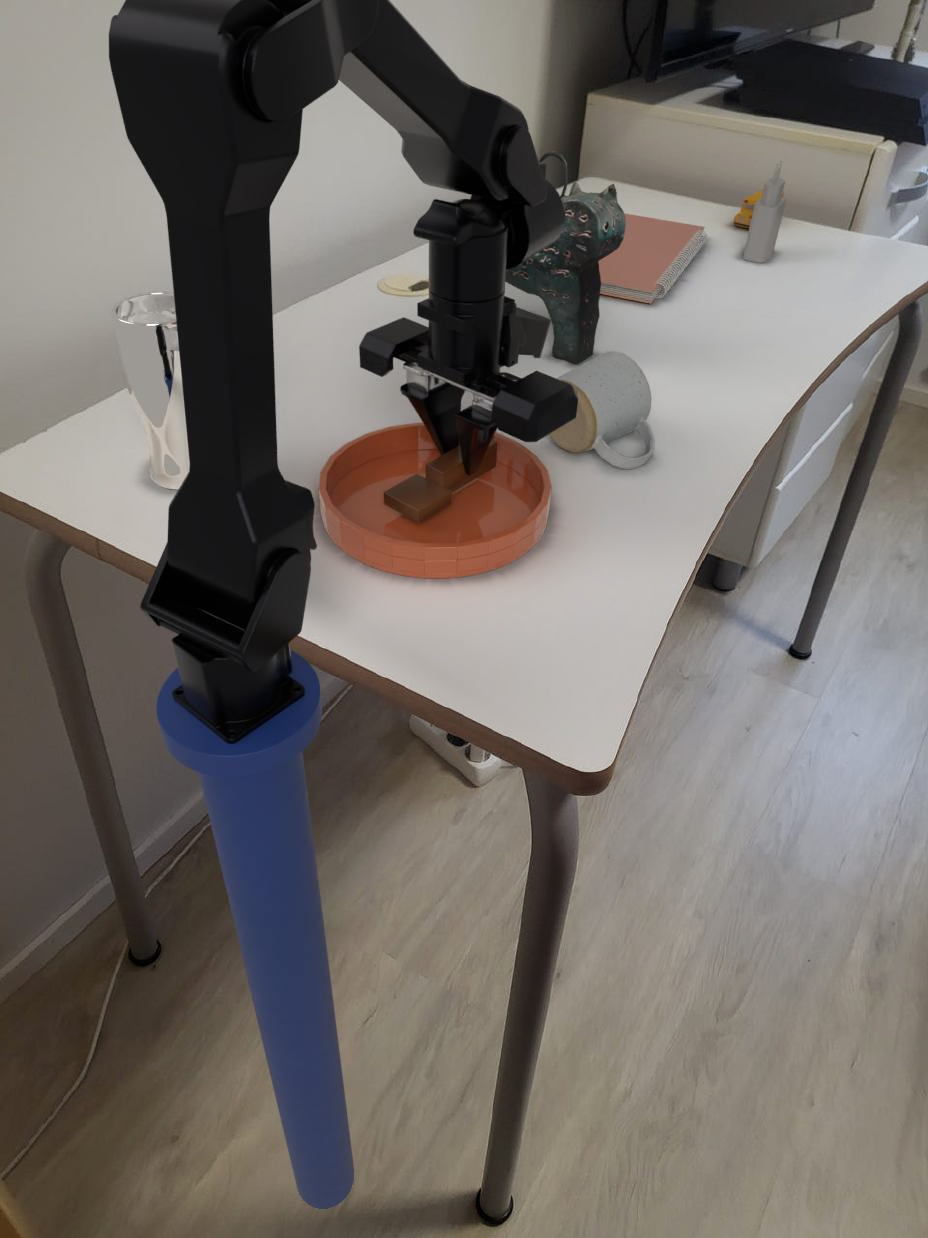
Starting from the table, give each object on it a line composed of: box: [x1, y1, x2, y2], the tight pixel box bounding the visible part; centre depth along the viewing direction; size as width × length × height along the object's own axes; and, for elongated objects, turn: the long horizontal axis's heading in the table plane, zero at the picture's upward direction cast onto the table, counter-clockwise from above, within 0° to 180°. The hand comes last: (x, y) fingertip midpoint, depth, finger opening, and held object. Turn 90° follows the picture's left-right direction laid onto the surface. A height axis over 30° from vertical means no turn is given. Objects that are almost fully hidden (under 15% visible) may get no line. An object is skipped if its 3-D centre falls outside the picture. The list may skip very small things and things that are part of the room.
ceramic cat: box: [469, 150, 626, 365], centre depth 100 cm, size 20×6×20 cm, turn 51°
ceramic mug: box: [548, 350, 656, 470], centre depth 86 cm, size 11×8×8 cm
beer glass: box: [110, 291, 190, 491], centre depth 78 cm, size 7×7×15 cm
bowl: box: [318, 422, 553, 579], centre depth 79 cm, size 19×19×3 cm
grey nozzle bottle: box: [742, 160, 787, 264], centre depth 126 cm, size 3×5×12 cm, turn 150°
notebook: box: [599, 212, 708, 304], centre depth 126 cm, size 27×17×2 cm, turn 156°
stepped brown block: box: [383, 440, 497, 523], centre depth 79 cm, size 4×11×2 cm, turn 139°
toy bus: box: [732, 189, 785, 229], centre depth 140 cm, size 3×10×4 cm, turn 140°
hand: (461, 467), depth 80 cm, fingers closed on stepped brown block, 2 cm apart
